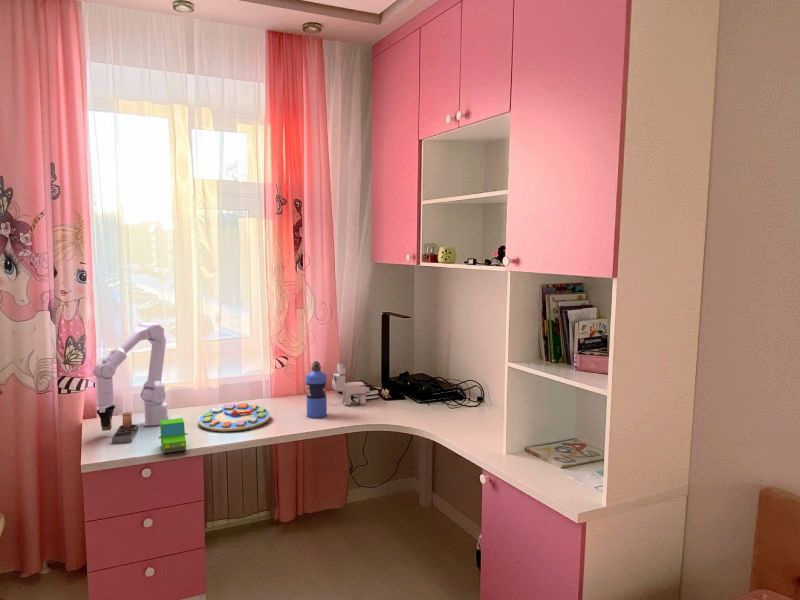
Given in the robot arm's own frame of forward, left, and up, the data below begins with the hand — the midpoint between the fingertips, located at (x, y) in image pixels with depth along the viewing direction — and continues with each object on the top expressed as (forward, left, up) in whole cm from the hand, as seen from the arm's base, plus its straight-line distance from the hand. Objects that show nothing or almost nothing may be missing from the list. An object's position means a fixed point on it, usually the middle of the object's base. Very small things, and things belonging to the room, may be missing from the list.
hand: (106, 425), depth 247 cm
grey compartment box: (-7, +3, -4) cm, 9 cm away
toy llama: (-105, -25, -5) cm, 108 cm away
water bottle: (-86, -8, -5) cm, 86 cm away
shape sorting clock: (-50, -7, -5) cm, 51 cm away
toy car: (-28, +24, -5) cm, 37 cm away
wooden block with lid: (0, 0, -2) cm, 2 cm away
